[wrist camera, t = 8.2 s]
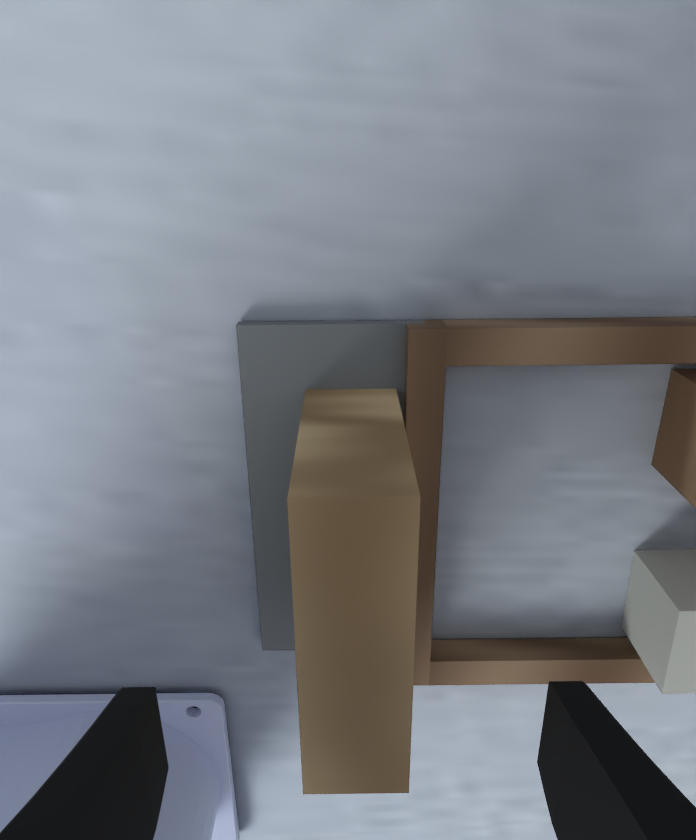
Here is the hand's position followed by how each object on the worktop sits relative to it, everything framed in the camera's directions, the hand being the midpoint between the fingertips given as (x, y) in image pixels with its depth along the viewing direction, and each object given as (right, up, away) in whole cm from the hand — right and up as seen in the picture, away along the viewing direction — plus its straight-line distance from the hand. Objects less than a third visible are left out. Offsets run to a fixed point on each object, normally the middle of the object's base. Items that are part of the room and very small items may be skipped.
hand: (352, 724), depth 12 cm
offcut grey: (+11, 0, +9) cm, 14 cm away
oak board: (0, +3, +7) cm, 8 cm away
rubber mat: (0, +3, +8) cm, 8 cm away
